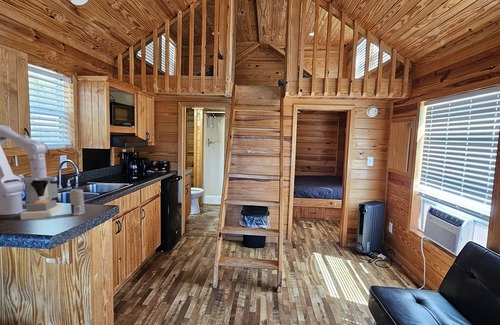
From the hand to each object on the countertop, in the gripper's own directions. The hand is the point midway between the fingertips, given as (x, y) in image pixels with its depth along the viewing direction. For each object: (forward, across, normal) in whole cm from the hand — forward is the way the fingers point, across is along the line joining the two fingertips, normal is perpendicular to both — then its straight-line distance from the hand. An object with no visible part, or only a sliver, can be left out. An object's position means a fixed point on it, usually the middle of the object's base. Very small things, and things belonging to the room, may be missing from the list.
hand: (40, 196), depth 126 cm
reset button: (+5, 0, 0) cm, 5 cm away
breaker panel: (+9, 0, 0) cm, 9 cm away
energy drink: (+9, +17, -2) cm, 20 cm away
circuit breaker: (+9, -10, +18) cm, 23 cm away
